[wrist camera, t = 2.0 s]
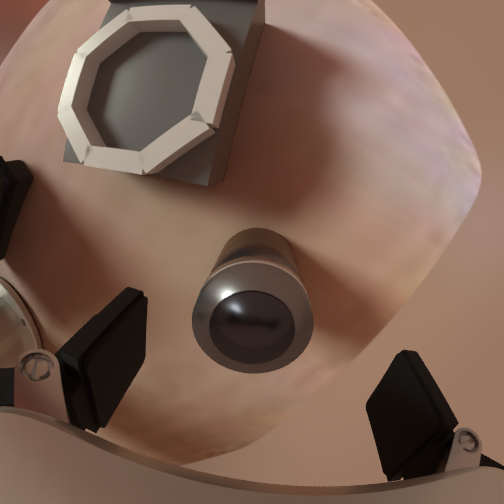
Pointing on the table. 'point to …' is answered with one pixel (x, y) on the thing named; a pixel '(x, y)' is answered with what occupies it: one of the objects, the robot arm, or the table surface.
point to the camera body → (161, 87)
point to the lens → (254, 305)
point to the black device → (11, 197)
